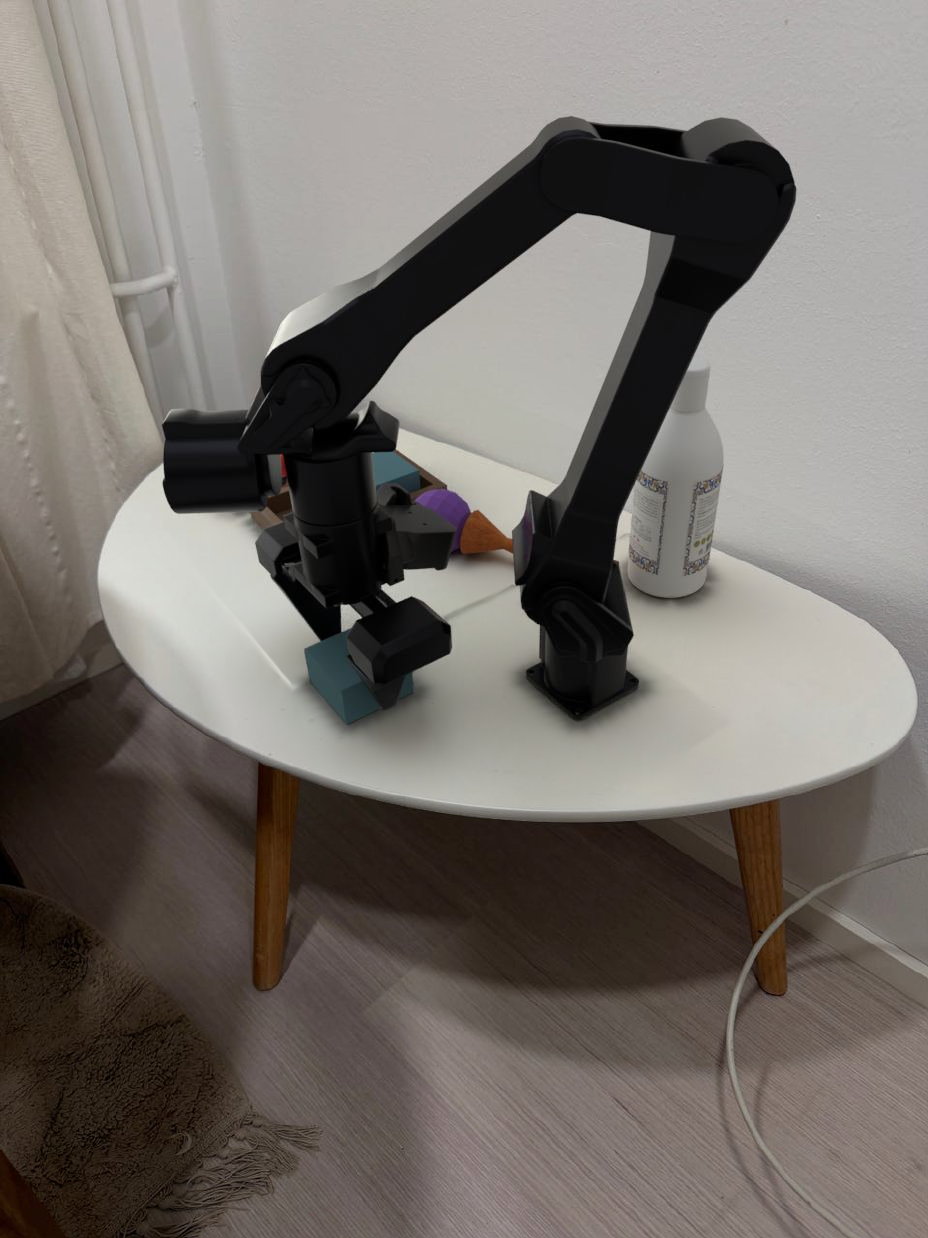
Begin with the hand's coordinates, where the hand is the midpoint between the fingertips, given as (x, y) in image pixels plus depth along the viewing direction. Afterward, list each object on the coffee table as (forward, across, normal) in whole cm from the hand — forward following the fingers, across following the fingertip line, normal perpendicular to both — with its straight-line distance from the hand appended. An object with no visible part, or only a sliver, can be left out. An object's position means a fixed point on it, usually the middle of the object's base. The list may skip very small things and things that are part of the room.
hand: (360, 676), depth 71 cm
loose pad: (+1, 0, 0) cm, 1 cm away
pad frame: (+1, +23, -12) cm, 26 cm away
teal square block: (0, +23, -16) cm, 28 cm away
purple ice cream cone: (+1, +6, -19) cm, 20 cm away
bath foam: (+1, -4, -29) cm, 29 cm away
